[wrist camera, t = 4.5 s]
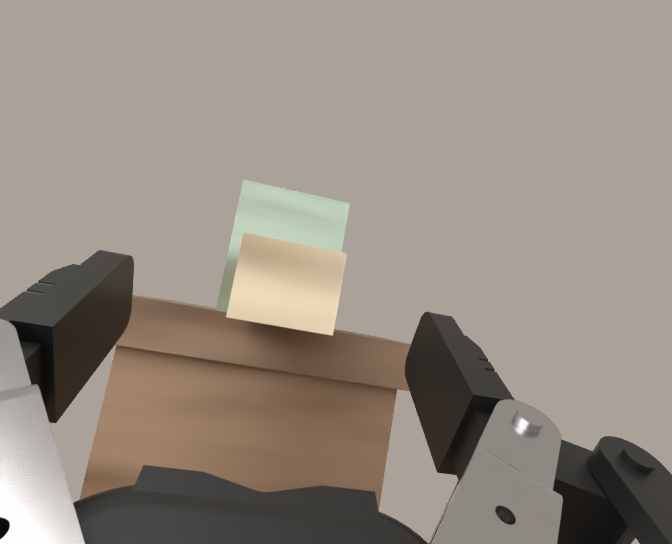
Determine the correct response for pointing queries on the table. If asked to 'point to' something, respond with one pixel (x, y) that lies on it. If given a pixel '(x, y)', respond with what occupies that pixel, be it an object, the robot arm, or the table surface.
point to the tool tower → (245, 402)
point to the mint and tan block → (285, 259)
